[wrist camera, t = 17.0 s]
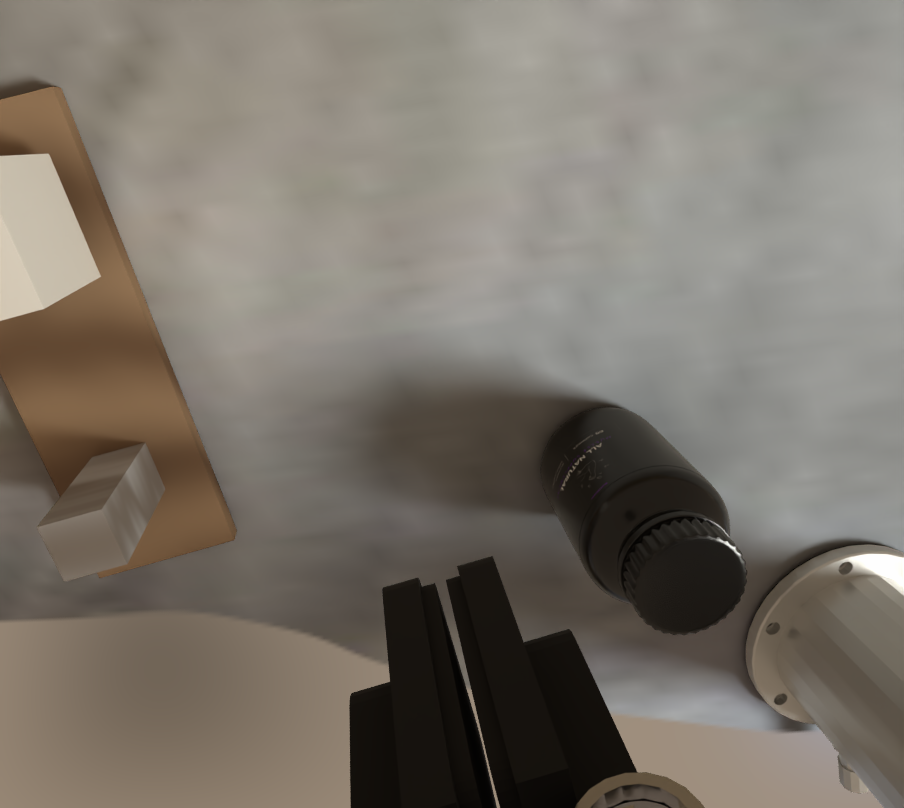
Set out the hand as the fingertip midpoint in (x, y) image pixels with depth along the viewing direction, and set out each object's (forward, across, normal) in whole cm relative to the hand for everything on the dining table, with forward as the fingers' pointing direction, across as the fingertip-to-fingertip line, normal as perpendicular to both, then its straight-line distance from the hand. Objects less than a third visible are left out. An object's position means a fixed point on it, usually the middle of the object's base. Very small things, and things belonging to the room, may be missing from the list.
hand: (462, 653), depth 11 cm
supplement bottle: (+27, -9, +12) cm, 31 cm away
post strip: (+27, +14, -1) cm, 31 cm away
